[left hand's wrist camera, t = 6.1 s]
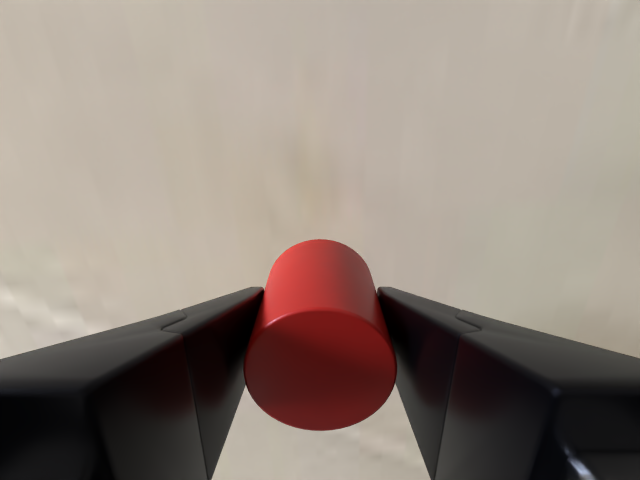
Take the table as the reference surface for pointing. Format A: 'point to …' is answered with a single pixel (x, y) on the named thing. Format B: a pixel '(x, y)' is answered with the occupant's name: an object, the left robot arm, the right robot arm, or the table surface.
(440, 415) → the left robot arm
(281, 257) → the red cylinder
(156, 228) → the table surface
